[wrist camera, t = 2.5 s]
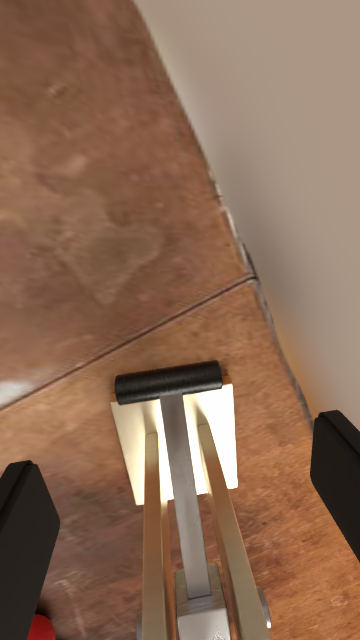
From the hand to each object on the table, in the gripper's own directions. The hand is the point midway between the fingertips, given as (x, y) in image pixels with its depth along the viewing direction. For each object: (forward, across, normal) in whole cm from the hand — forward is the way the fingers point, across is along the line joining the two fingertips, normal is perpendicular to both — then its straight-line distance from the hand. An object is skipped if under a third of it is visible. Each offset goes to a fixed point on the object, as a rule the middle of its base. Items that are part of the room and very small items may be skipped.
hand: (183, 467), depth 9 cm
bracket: (+11, 0, +10) cm, 15 cm away
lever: (+3, 0, +5) cm, 6 cm away
